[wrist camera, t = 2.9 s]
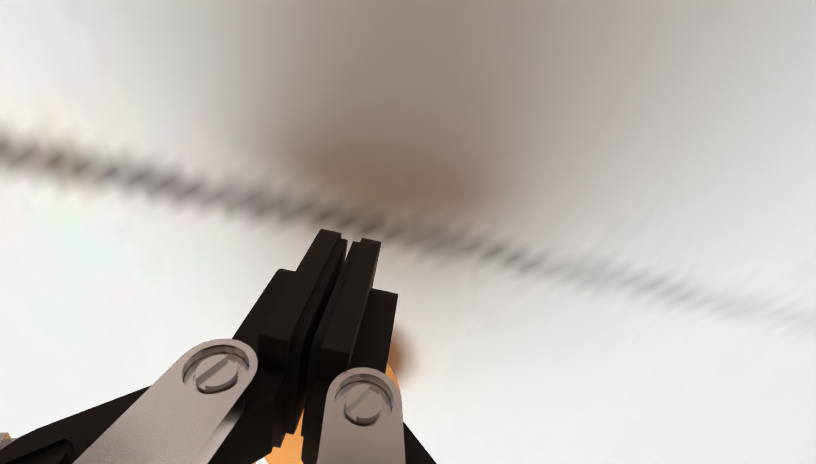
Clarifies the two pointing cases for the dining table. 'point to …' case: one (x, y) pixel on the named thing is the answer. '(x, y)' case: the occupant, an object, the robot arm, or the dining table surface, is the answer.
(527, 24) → the dining table surface
